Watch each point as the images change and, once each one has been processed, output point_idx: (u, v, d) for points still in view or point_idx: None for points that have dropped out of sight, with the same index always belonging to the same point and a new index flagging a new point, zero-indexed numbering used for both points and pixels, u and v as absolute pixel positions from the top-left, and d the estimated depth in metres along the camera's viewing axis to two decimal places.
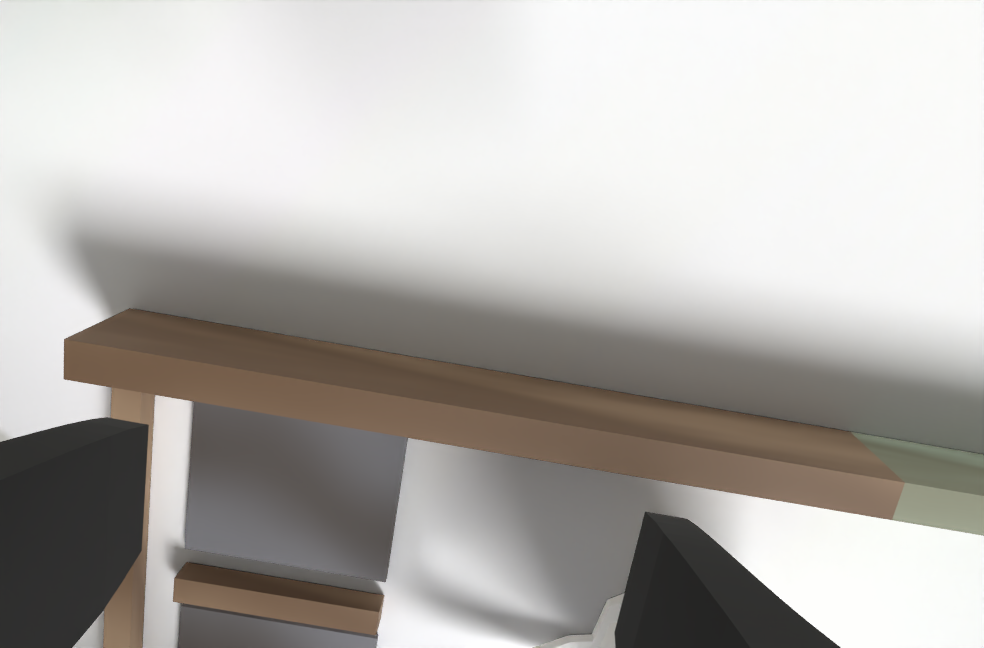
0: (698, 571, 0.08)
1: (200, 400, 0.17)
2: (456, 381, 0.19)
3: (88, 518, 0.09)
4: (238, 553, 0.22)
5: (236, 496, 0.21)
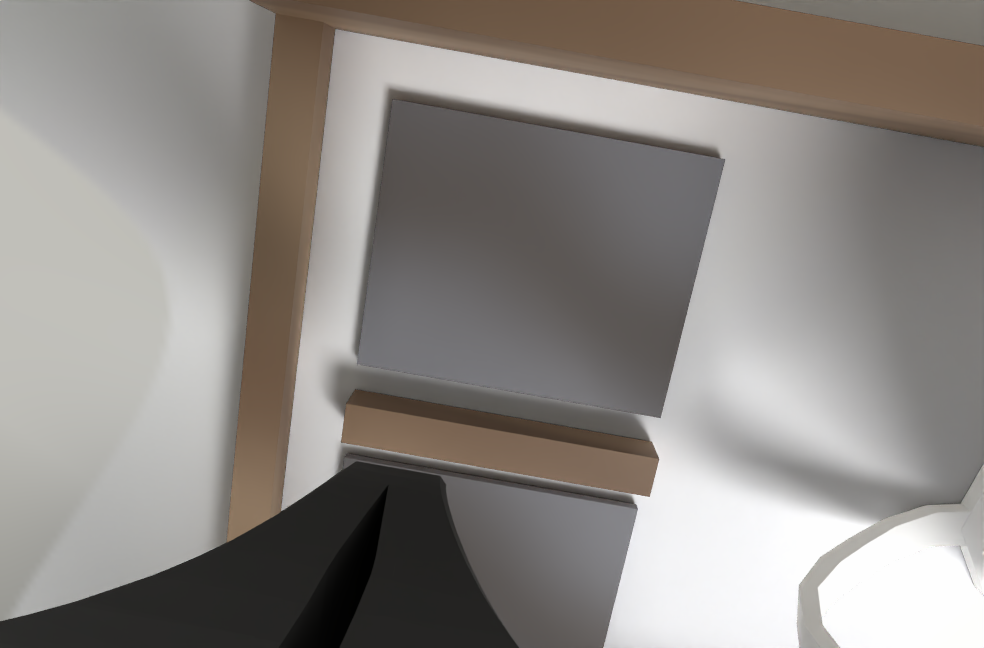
0: (389, 517, 0.08)
1: (459, 28, 0.10)
2: None
3: (369, 567, 0.09)
4: (438, 371, 0.14)
5: (442, 277, 0.14)
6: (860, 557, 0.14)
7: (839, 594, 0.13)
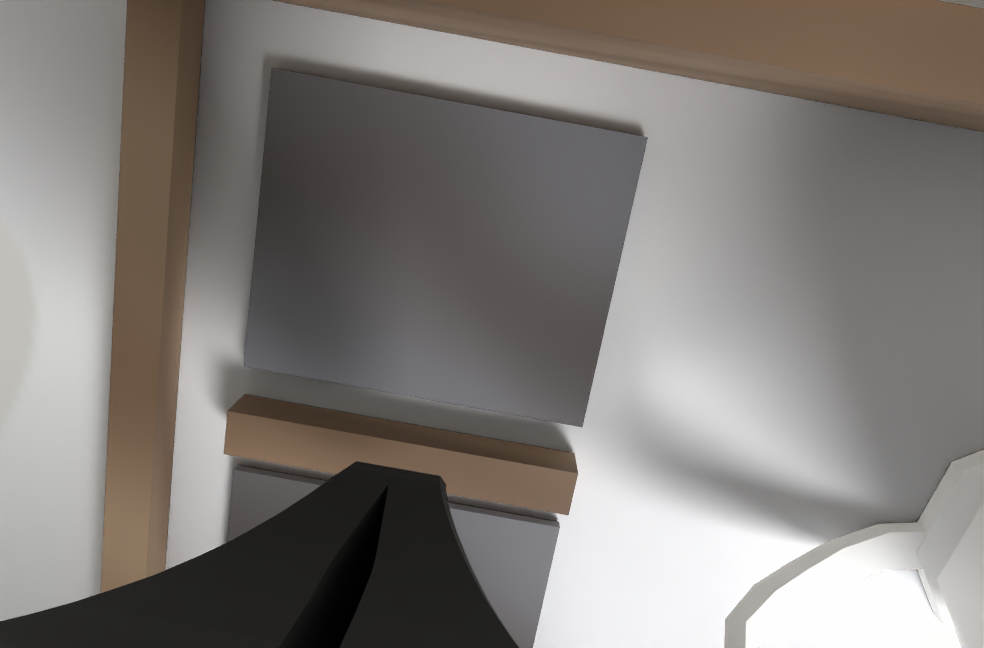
0: (389, 517, 0.08)
1: None
2: None
3: (370, 567, 0.09)
4: (333, 375, 0.13)
5: (335, 270, 0.12)
6: (800, 585, 0.12)
7: (776, 626, 0.12)
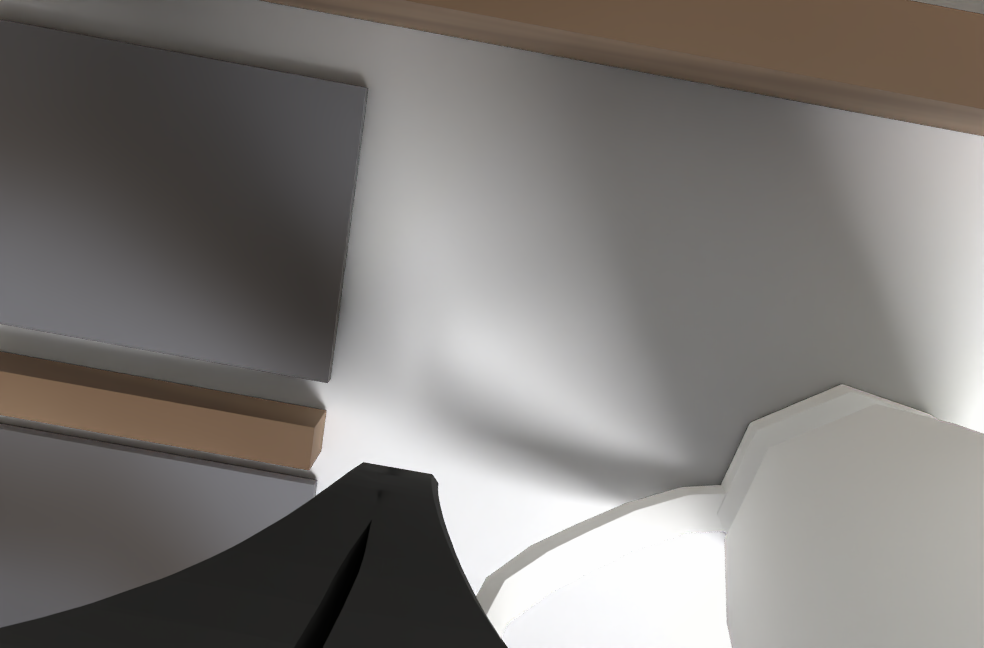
0: (379, 516, 0.08)
1: None
2: None
3: None
4: (77, 330, 0.13)
5: (69, 222, 0.12)
6: (583, 546, 0.12)
7: (556, 587, 0.12)
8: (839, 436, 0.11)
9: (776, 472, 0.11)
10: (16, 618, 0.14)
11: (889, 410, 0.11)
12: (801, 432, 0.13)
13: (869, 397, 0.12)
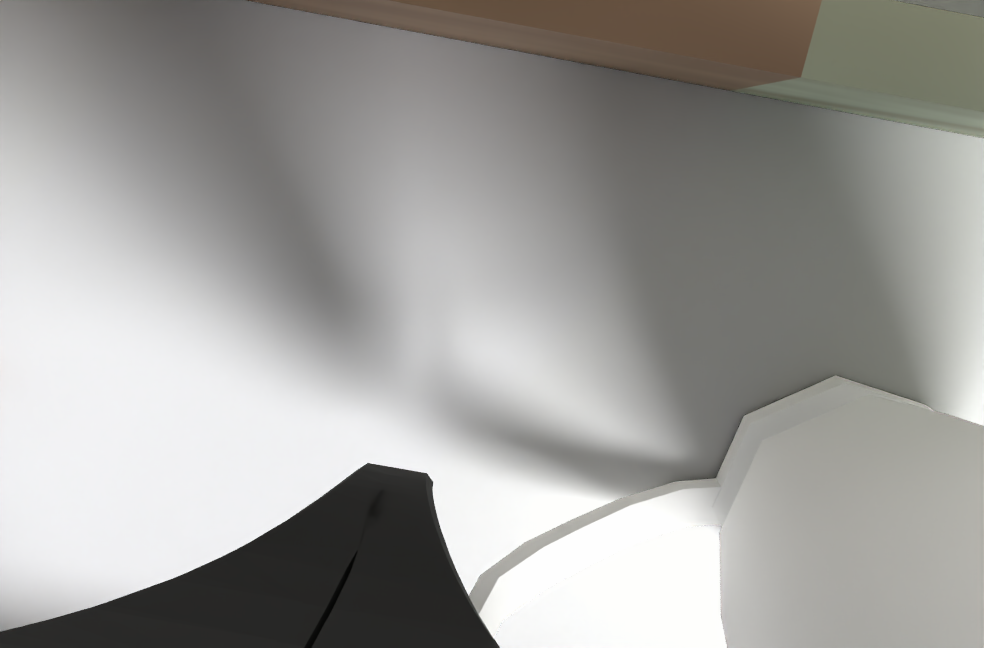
0: (373, 514, 0.08)
1: None
2: None
3: None
4: None
5: None
6: (577, 541, 0.12)
7: (552, 583, 0.12)
8: (831, 428, 0.11)
9: (769, 465, 0.11)
10: None
11: (881, 401, 0.11)
12: (795, 424, 0.13)
13: (863, 388, 0.12)
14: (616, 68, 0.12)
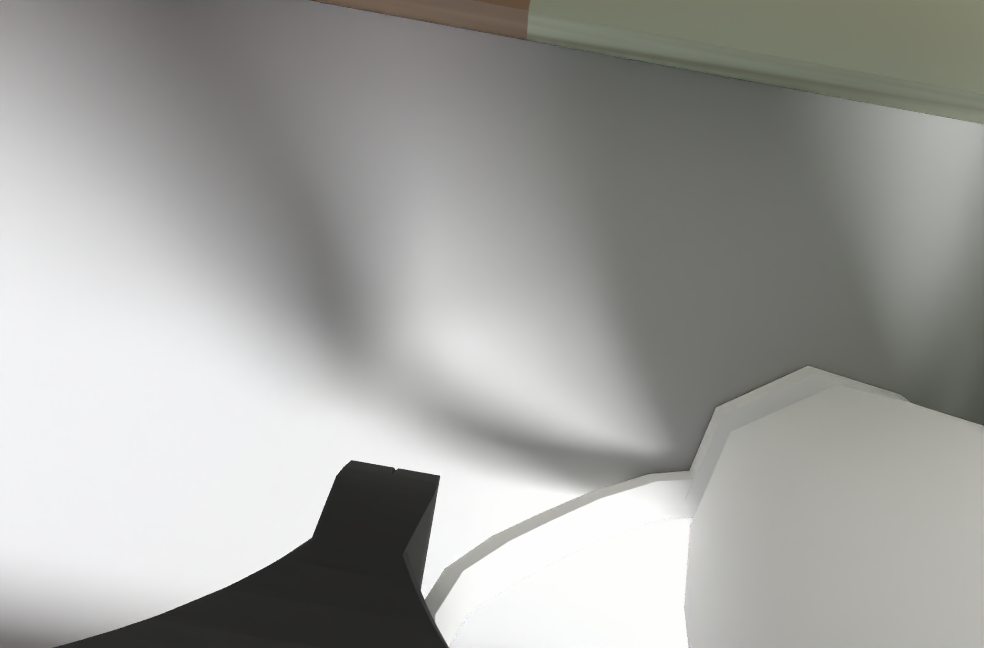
0: (331, 507, 0.08)
1: None
2: None
3: (417, 576, 0.09)
4: None
5: None
6: (546, 534, 0.12)
7: (520, 577, 0.12)
8: (797, 418, 0.11)
9: (734, 456, 0.11)
10: None
11: (848, 390, 0.11)
12: (767, 415, 0.12)
13: (834, 378, 0.12)
14: (408, 17, 0.11)
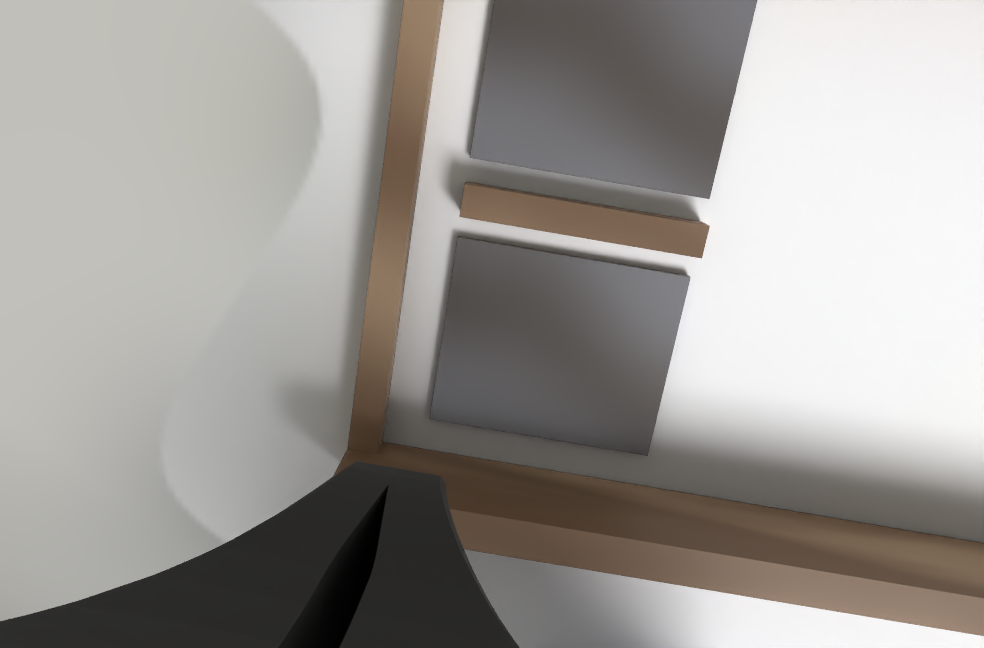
0: (389, 517, 0.08)
1: None
2: None
3: (370, 567, 0.09)
4: (534, 163, 0.18)
5: (539, 83, 0.18)
6: None
7: None
8: None
9: None
10: (457, 386, 0.20)
11: None
12: None
13: None
14: None
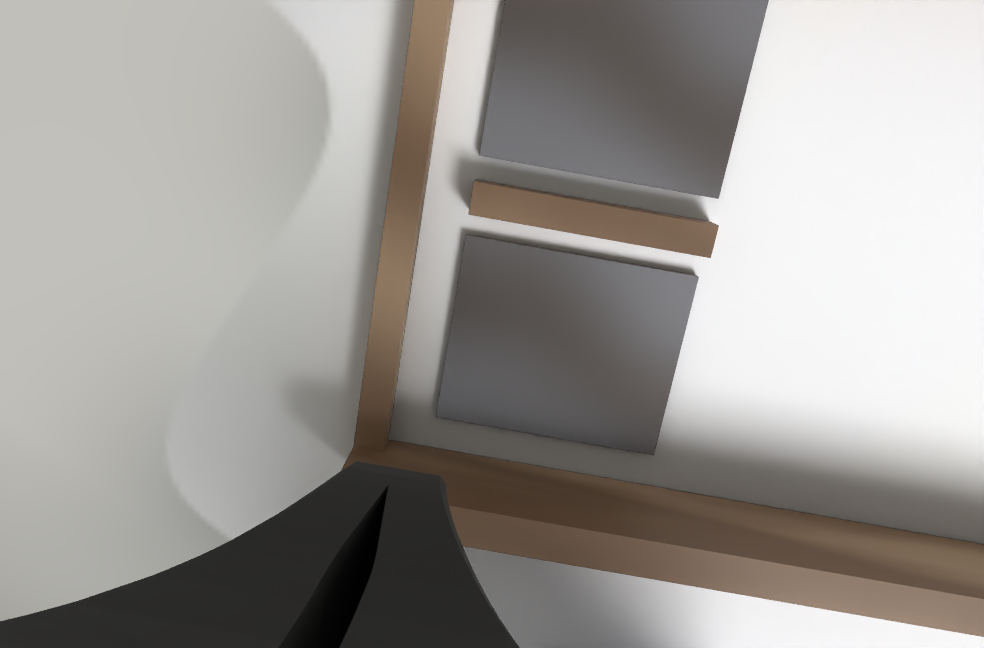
0: (389, 517, 0.08)
1: None
2: None
3: (370, 568, 0.09)
4: (543, 161, 0.18)
5: (550, 82, 0.18)
6: None
7: None
8: None
9: None
10: (464, 384, 0.20)
11: None
12: None
13: None
14: None
